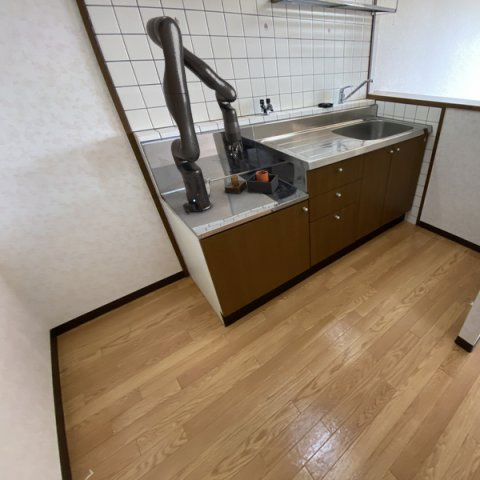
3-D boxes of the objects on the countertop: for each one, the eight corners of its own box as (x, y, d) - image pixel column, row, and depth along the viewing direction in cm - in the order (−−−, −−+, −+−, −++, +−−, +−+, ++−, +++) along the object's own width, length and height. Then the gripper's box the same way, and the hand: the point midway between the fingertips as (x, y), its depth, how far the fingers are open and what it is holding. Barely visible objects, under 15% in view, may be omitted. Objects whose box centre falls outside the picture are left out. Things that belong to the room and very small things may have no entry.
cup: (267, 190, 152) (265, 175, 146) (256, 189, 153) (254, 174, 147) (270, 185, 157) (269, 171, 152) (260, 185, 158) (258, 170, 153)
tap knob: (237, 185, 151) (235, 177, 148) (230, 185, 152) (228, 176, 149) (240, 182, 154) (238, 174, 152) (233, 182, 155) (231, 174, 152)
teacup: (198, 202, 141) (193, 188, 136) (186, 197, 146) (182, 183, 142) (220, 193, 150) (217, 179, 145) (209, 188, 155) (205, 175, 151)
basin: (272, 193, 149) (271, 182, 146) (248, 191, 151) (246, 181, 148) (278, 185, 159) (277, 174, 155) (255, 183, 161) (254, 173, 157)
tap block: (239, 193, 150) (238, 188, 148) (225, 192, 151) (224, 187, 149) (246, 185, 159) (245, 180, 157) (233, 184, 160) (232, 179, 158)
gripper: (230, 127, 143) (236, 157, 152) (219, 133, 131) (226, 166, 140) (244, 127, 142) (249, 158, 151) (234, 134, 130) (240, 166, 140)
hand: (238, 162), depth 146 cm, fingers open, 8 cm apart
